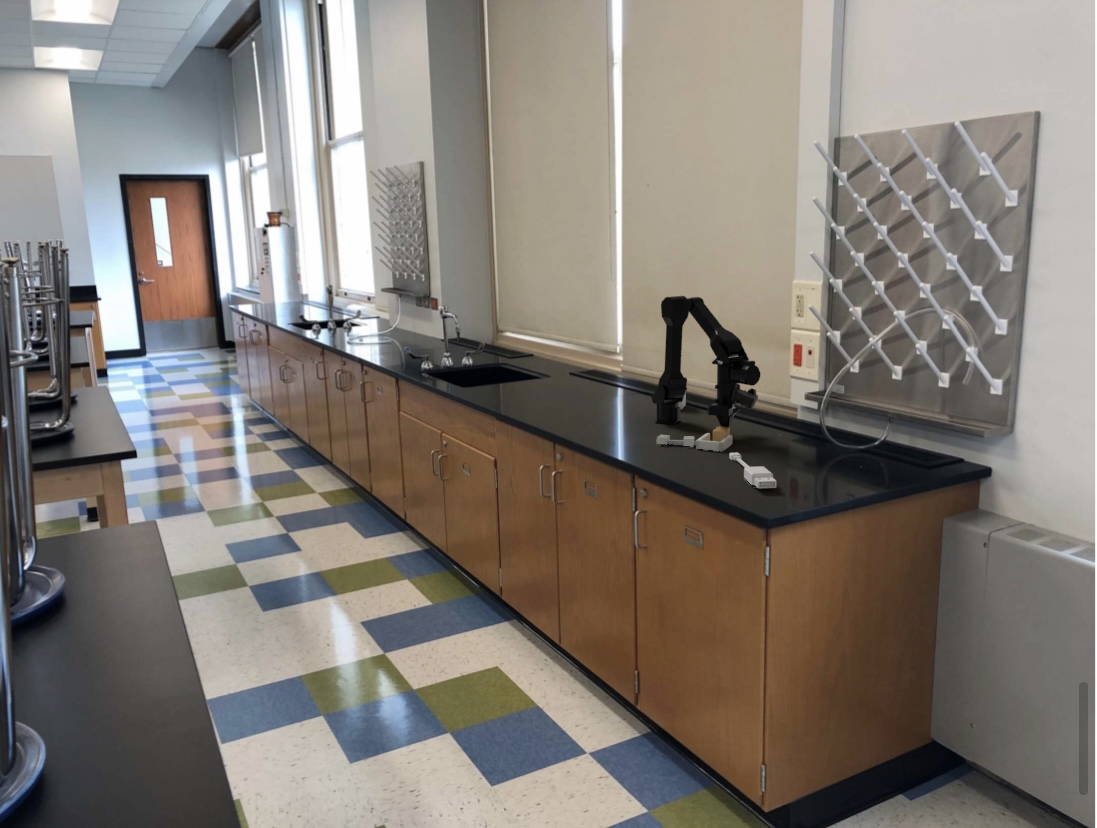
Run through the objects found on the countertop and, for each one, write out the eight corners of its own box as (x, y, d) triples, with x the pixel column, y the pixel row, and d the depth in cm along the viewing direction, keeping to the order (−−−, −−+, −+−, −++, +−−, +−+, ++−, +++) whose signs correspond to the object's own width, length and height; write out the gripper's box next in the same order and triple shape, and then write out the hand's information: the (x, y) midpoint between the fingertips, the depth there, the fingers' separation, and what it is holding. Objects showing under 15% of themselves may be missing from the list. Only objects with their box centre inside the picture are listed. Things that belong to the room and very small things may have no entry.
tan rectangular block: (712, 442, 244) (712, 430, 243) (717, 438, 249) (717, 426, 248) (724, 443, 242) (724, 431, 241) (729, 439, 248) (729, 427, 247)
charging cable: (741, 460, 230) (741, 447, 229) (778, 491, 198) (778, 477, 197) (723, 460, 230) (723, 448, 229) (756, 492, 198) (756, 477, 197)
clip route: (654, 444, 243) (654, 436, 243) (660, 441, 247) (660, 433, 247) (695, 448, 238) (695, 440, 237) (701, 445, 242) (701, 436, 241)
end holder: (695, 449, 237) (695, 440, 237) (706, 441, 246) (706, 433, 245) (722, 451, 234) (722, 442, 233) (732, 443, 242) (732, 435, 242)
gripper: (746, 388, 234) (745, 443, 237) (763, 377, 250) (762, 429, 254) (706, 386, 239) (706, 440, 243) (726, 375, 255) (725, 426, 259)
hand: (726, 433), depth 249 cm, fingers closed
